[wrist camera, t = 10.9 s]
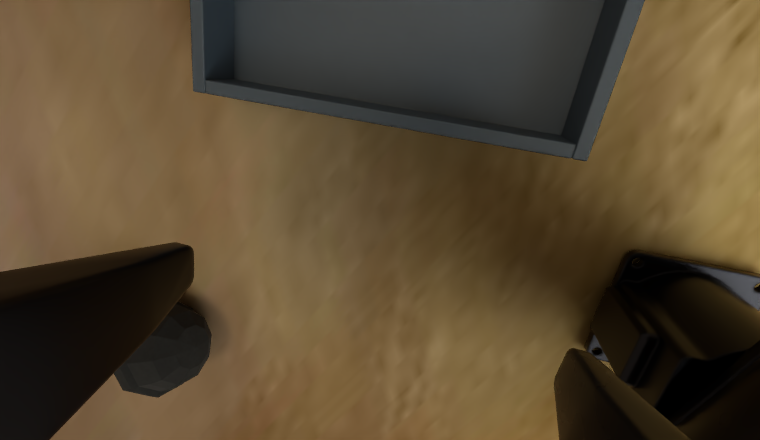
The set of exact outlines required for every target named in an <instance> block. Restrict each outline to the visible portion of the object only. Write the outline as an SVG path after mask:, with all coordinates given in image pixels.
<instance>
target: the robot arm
mask: <svg viewBox="0 0 760 440" xmlns="http://www.w3.org/2000/svg"><path fill="white" fill-rule="evenodd" d="M635 258H640V260H639V261H638V262H637V263H632V261H633V260H634V259H635ZM193 278H194V251H193V249H192V247H191V246H188V245H184V244H181V243H176V242H174V243H168V244H162V245H156V246H150V247H144V248H138V249H132V250H127V251H121V252H115V253H109V254H103V255H97V256H91V257H85V258H79V259H74V260H68V261H62V262H56V263H50V264H44V265H38V266H32V267H27V268H21V269H15V270H9V271H3V272H0V440H49V439H50V438H51V437H52V436H53V435H54V434H55V433H56V432H57V431H58V430H59V429H60V428H61V427H62V426H63V425H64V424H65V423H66V422H67V421H68V420H69V419H70V418H71V417H72V416H73V415H74V414H75V413H76V412H77V411H78V410H79V409H80V407H81V406H82V405H83V404H84V403H85V402H86V401H87V400H88V399H89V398H90V397H91V396H92V395H93V394H94V393H95V392H96V391H97V390H98V389H99V388H100V387H101V386H102V385H103V384H104V383H105V382H106V381H107V380H108V379H109V378H110V377H111V375H112V374H113V373H114V372H115V371H116V370H117V369H118V368H119V367H120V366H121V365H122V364H123V363H124V362H125V361H126V360H127V359H128V358H129V357H130V356H131V355H132V354H133V353H134V352H135V351H136V350H137V349H138V348H139V347H140V346H141V345H142V343H143V342H144V341H145V340H146V339H147V338H148V337H149V336H150V335H151V334H152V333H153V331H154V330H155V329H156V328H157V327H158V326H159V324H160V323H161V322H162V321H163V319H164V318H165V317H166V315H167V314H168V313H169V312H170V310H171V309H172V308H173V307H174V305H175V304H176V303H177V302H178V300H179V299H180V298H181V297H182V295H183V294H184V293H185V292H186V290H187V289H188V288H189V287H190V285H191V283H192V281H193ZM759 283H760V274H755V273H750V272H746V271H741V270H736V269H731V268H726V267H721V266H716V265H711V264H706V263H701V262H696V261H691V260H686V259H681V258H676V257H671V256H666V255H661V254H656V253H651V252H646V251H641V250H631V251H629V252H627V253H626V254H625V256H624V257H623V259H622V262H621V264H620V266H619V269H618V271H617V273H616V275H615V278H614V280H613V282H612V285H610V286H609V287H607V288H606V290H605V292H604V295H603V297H602V299H601V302H600V304H599V306H598V308H597V311H596V313H595V315H594V318H593V320H592V322H591V325H590V327H591V329H592V330H591V332H590V335H589V337H588V339H587V341H586V344H585V349H586V351H582V350H579V349H575V348H571V349H569V350H568V351H567V353H566V355H565V357H564V359H563V361H562V363H561V365H560V368H559V370H558V372H557V374H556V376H555V381H554V391H555V401H556V411H557V421H558V430H559V440H760V312H759V310H760V285H759V286H758V287H756V288H754V286H755V285H756V284H759ZM596 347H598V348H599V349H598V350H593V349H594V348H596ZM600 360H602V361H607V362H609V363H610V365H611V366H612V368H613V370H614V372H615V373H613V372H612V371H611V370H610V369H609V368H608V367H607V366H605V365H604V364H603V363H602V362H601V361H600Z"/></svg>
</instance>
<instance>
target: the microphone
mask: <svg viewBox="0 0 760 440" xmlns="http://www.w3.org/2000/svg"><path fill="white" fill-rule="evenodd" d="M210 344H211V332H210V330H209V328H208V325H207V323H206V321H205V318H204V317H202V316H201V315H199V314H197V313H195V312H194V311H193V309H192V308H190V307H188V306H186V305H184V304H182V303H180V302H177V303H176V304H175V305H174V307H173V308H172V309H171V310H170V312H169V313H168V314H167V315H166V317H165V318H164V319H163V321H162V322H161V323H160V324H159V326H158V327H157V328H156V329H155V330H154V331H153V333H152V334H151V335H150V336H149V337H148V338H147V339H146V340H145V341H144V342H143V343H142V345H141V346H140V347H139V348H138V349H137V350H136V351H135V352H134V353H133V354H132V355H131V356H130V357H129V358H128V359H127V360H126V361H125V362H124V363H123V364H122V365H121V366H120V367H119V368H118V369H117V370H116V371H115V372H114V375H115V376H116V378H117V380H118V382H119V384H120V386H121V387H122V389H123V390H124V391H129V392H133V393H138V394H142V395H147V396H152V397H160V396H162V395H163V394H165V393H167V392H169V391H171V390H172V389H174V388H176V387H178V386H180V385H181V384H183V383H184V382H186V381H188V380H190V379H191V378H193V377H195V376H197V375H198V374H199V372H200V370H201V369H202V367H203V365H204V364H205V362H206V360H207V359H208V357H209V353H210Z"/></svg>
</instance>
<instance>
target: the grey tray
mask: <svg viewBox="0 0 760 440" xmlns="http://www.w3.org/2000/svg"><path fill="white" fill-rule="evenodd" d="M644 1H645V0H190V15H191V43H192V71H193V91H195V92H200V93H207V94H212V95H217V96H223V97H229V98H234V99H240V100H245V101H251V102H257V103H262V104H268V105H273V106H279V107H285V108H290V109H296V110H301V111H307V112H313V113H318V114H324V115H329V116H335V117H341V118H346V119H352V120H357V121H363V122H369V123H374V124H380V125H385V126H391V127H397V128H402V129H408V130H413V131H419V132H425V133H430V134H436V135H441V136H447V137H453V138H458V139H464V140H469V141H475V142H481V143H486V144H492V145H497V146H503V147H509V148H514V149H520V150H525V151H531V152H537V153H542V154H548V155H553V156H559V157H565V158H573V159H576V160H581V161H587V160H588V157H589V154H590V151H591V149H592V146H593V143H594V140H595V137H596V135H597V132H598V129H599V126H600V123H601V121H602V118H603V115H604V112H605V110H606V107H607V104H608V101H609V98H610V96H611V93H612V90H613V87H614V85H615V82H616V79H617V76H618V73H619V71H620V68H621V65H622V62H623V59H624V57H625V54H626V51H627V48H628V46H629V43H630V40H631V37H632V34H633V32H634V29H635V26H636V23H637V21H638V18H639V15H640V12H641V9H642V7H643V4H644Z"/></svg>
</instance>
